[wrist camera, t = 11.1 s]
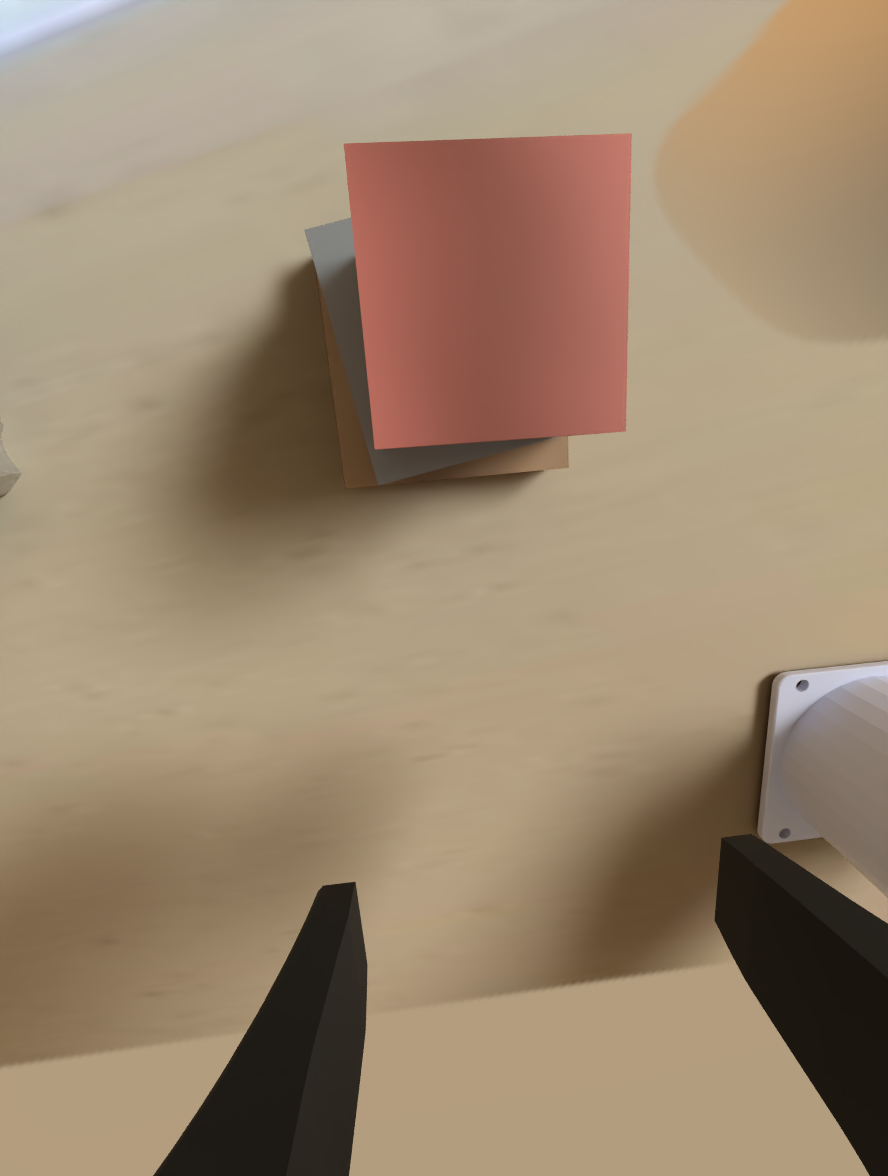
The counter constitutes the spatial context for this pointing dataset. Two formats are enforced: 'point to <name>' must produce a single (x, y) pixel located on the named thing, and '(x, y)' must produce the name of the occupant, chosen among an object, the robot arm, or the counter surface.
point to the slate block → (343, 305)
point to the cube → (493, 286)
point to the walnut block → (363, 475)
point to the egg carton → (6, 469)
